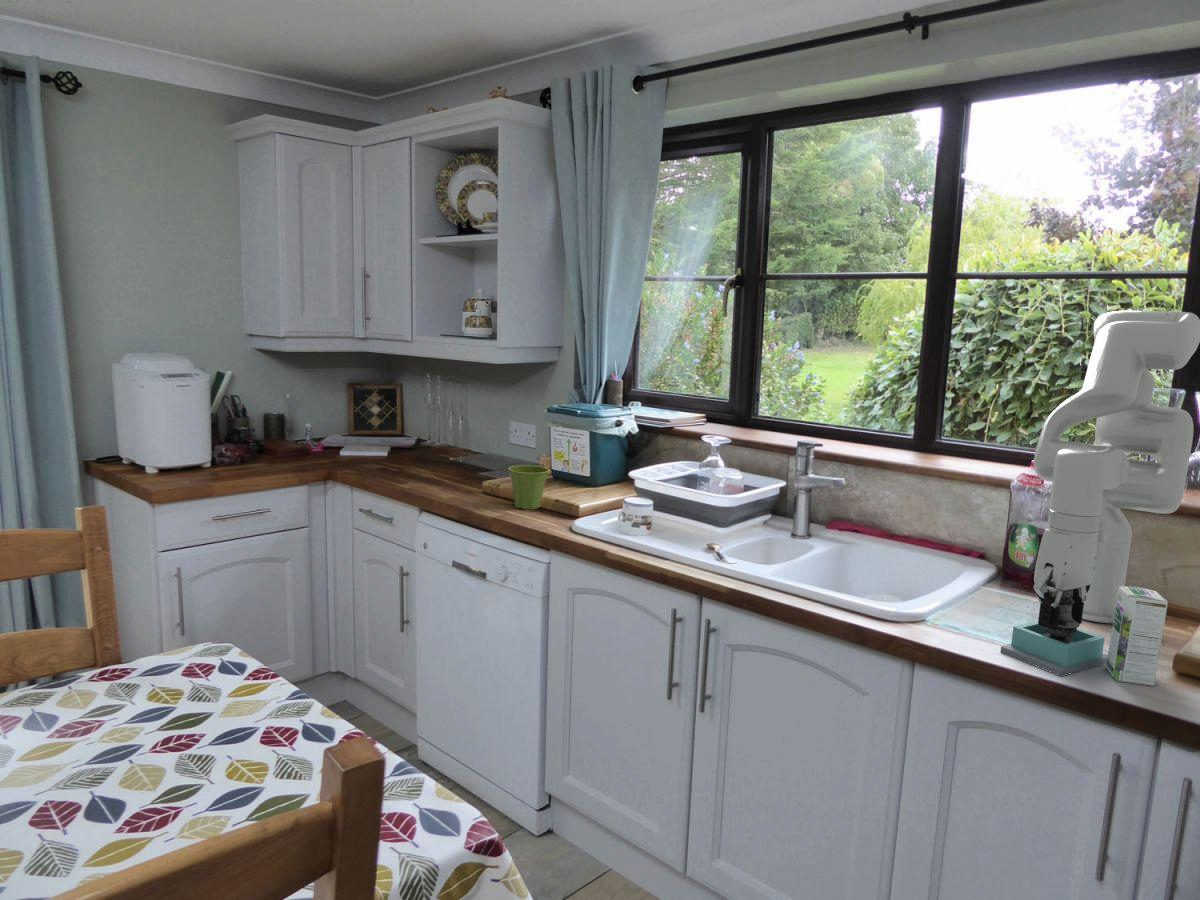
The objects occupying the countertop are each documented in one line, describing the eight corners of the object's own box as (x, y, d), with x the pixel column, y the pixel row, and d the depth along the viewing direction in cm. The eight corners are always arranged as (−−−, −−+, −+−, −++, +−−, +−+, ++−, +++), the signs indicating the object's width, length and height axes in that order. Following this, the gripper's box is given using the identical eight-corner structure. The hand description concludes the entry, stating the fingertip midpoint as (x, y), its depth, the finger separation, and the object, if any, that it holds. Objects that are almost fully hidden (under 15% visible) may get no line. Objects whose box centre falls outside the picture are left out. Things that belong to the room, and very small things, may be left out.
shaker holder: (1050, 639, 152) (1053, 615, 152) (1111, 662, 143) (1114, 637, 142) (1000, 651, 146) (1003, 627, 145) (1060, 676, 136) (1064, 650, 136)
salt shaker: (1064, 634, 147) (1072, 568, 145) (1084, 647, 141) (1093, 579, 139) (1031, 633, 147) (1039, 568, 145) (1050, 647, 141) (1059, 578, 139)
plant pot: (523, 513, 233) (524, 474, 231) (499, 505, 242) (500, 467, 240) (556, 508, 240) (558, 470, 239) (532, 500, 249) (533, 463, 247)
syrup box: (1104, 667, 141) (1116, 584, 138) (1144, 673, 139) (1157, 589, 137) (1114, 681, 135) (1127, 595, 133) (1156, 687, 134) (1169, 600, 131)
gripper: (1081, 513, 148) (1069, 610, 151) (1019, 521, 140) (1007, 624, 143) (1125, 522, 142) (1110, 624, 144) (1062, 532, 133) (1049, 640, 136)
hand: (1059, 623), depth 143 cm, fingers closed on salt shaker, 5 cm apart
